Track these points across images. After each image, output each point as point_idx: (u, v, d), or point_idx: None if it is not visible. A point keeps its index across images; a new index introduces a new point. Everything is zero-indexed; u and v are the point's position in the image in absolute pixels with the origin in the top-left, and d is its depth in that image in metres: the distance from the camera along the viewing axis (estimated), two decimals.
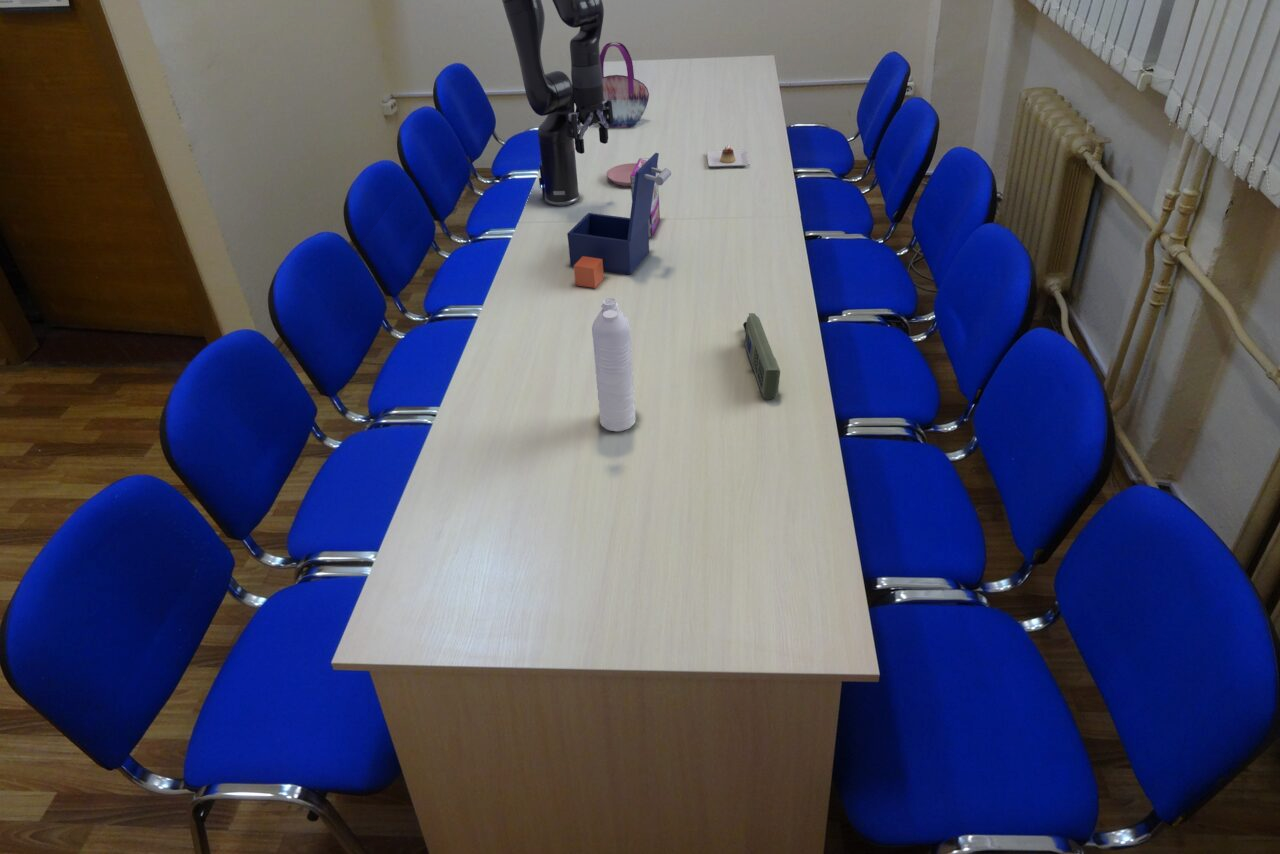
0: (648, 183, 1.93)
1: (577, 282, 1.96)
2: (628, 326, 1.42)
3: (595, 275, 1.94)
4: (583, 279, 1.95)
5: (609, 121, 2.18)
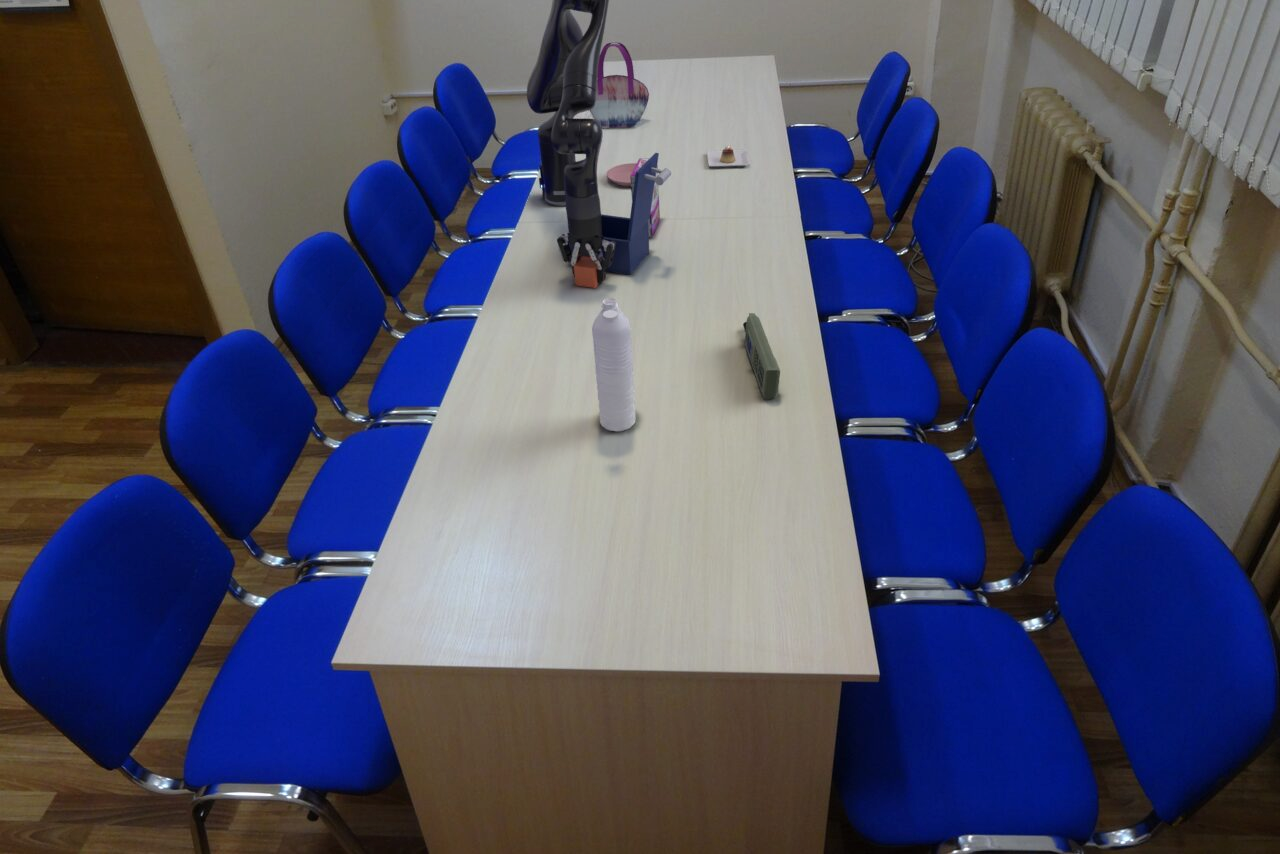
0: (648, 183, 1.93)
1: (577, 282, 1.96)
2: (629, 326, 1.42)
3: (595, 275, 1.94)
4: (583, 279, 1.95)
5: (604, 264, 1.92)
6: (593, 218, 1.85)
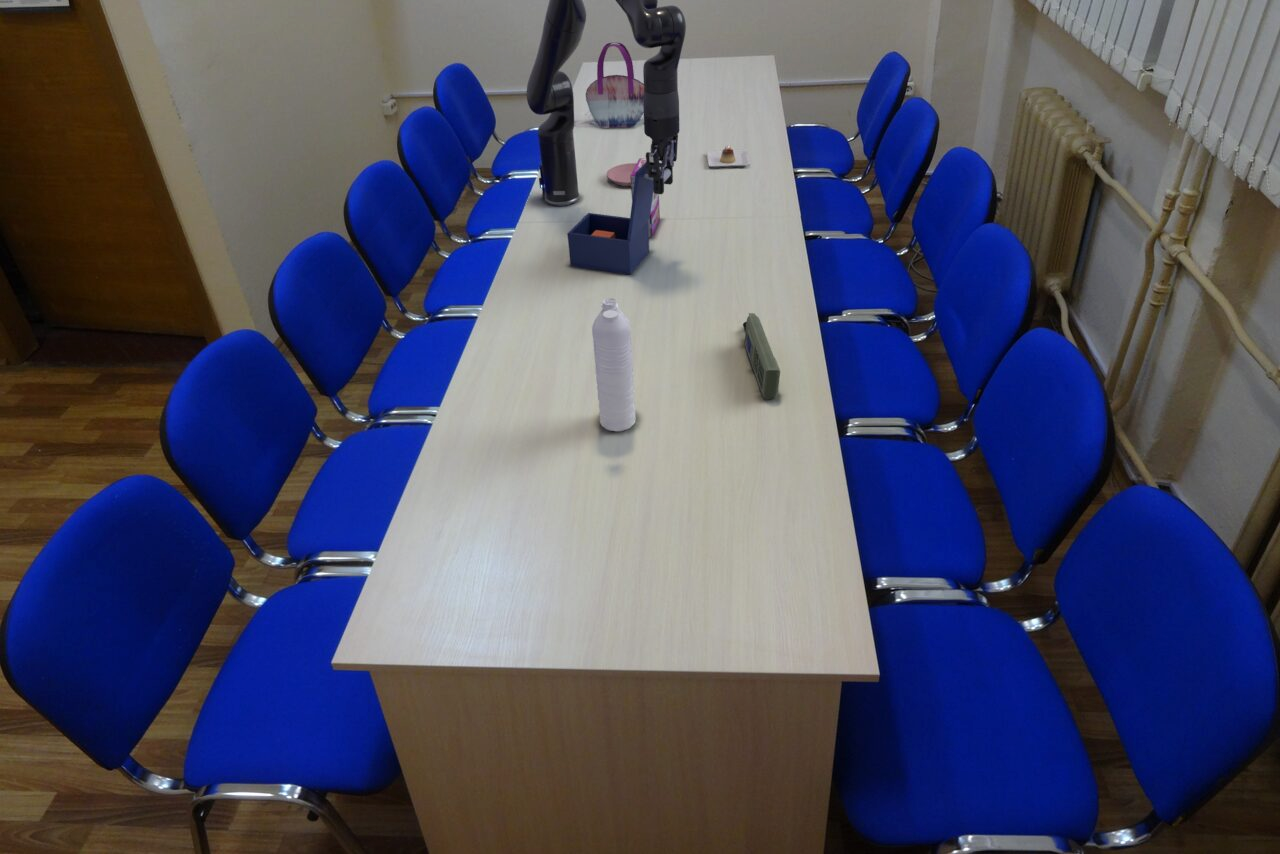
0: (648, 183, 1.93)
1: None
2: (629, 326, 1.42)
3: None
4: None
5: (673, 158, 1.90)
6: None
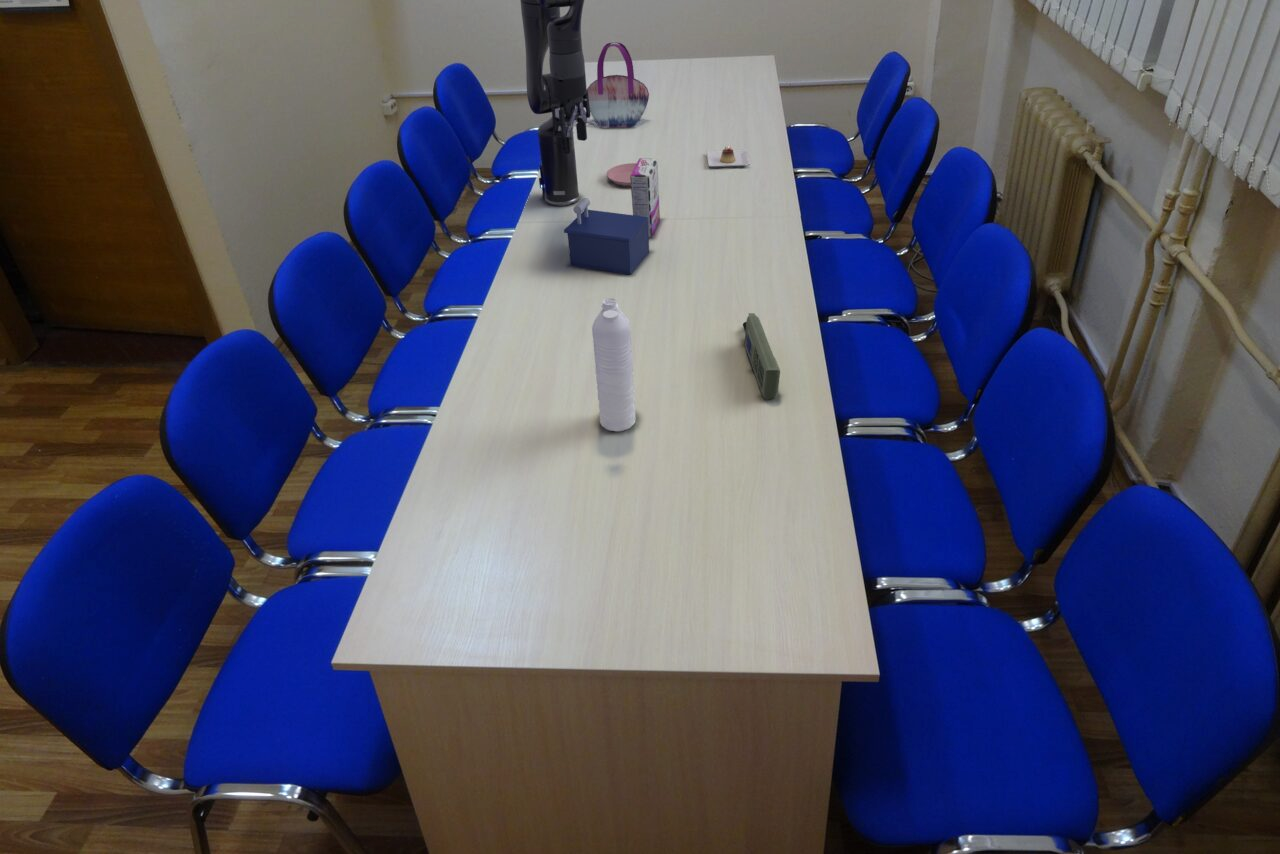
0: (598, 219, 2.03)
1: None
2: (629, 326, 1.42)
3: None
4: None
5: (587, 115, 1.95)
6: None
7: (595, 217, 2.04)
